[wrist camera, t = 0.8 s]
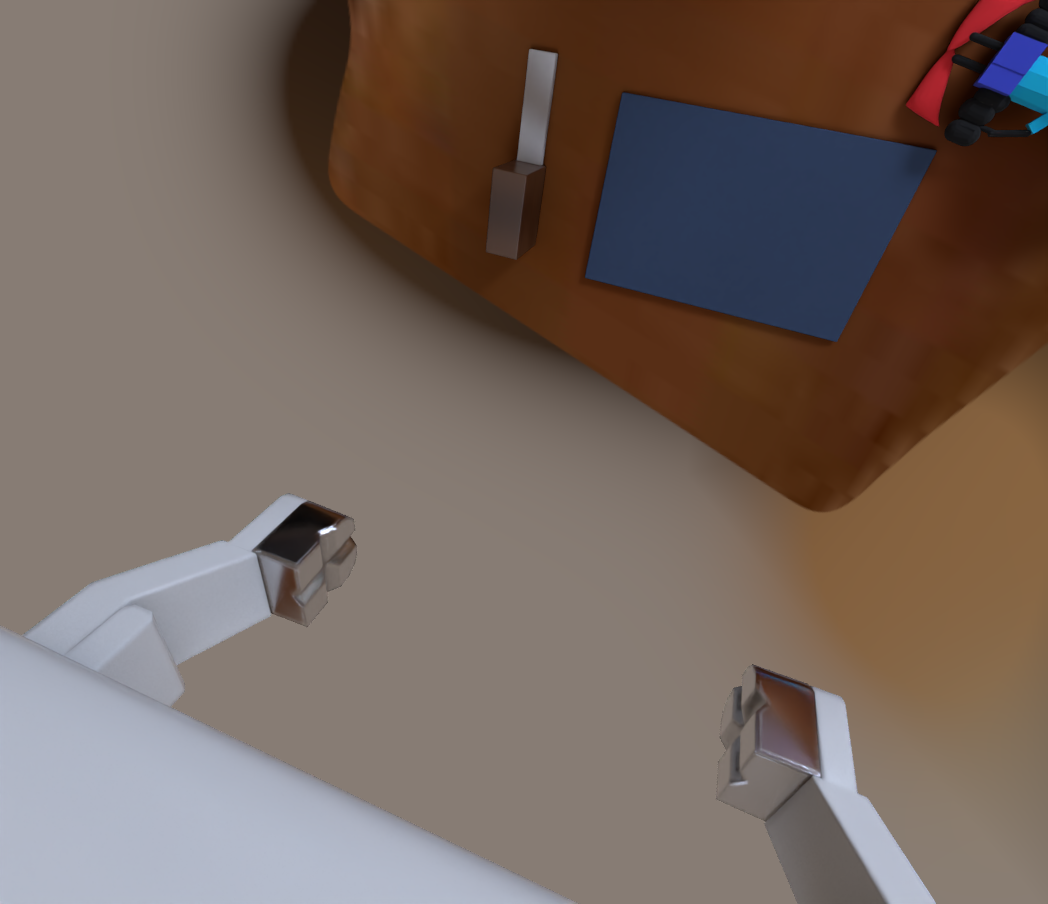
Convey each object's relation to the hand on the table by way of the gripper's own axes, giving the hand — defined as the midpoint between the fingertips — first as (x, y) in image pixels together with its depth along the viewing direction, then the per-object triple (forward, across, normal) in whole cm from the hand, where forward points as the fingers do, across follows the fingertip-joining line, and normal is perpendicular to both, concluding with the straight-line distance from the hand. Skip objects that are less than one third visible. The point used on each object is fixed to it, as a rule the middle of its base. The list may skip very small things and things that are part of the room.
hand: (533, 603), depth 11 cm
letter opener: (+38, +13, -1) cm, 40 cm away
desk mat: (+38, -3, 0) cm, 38 cm away
